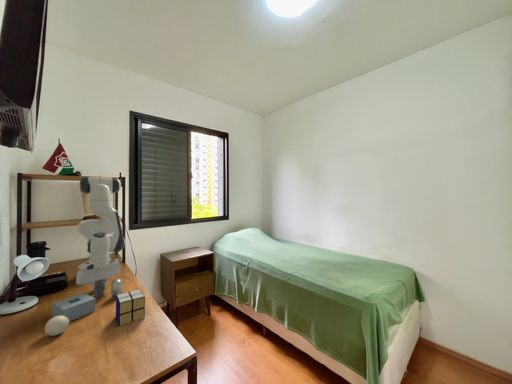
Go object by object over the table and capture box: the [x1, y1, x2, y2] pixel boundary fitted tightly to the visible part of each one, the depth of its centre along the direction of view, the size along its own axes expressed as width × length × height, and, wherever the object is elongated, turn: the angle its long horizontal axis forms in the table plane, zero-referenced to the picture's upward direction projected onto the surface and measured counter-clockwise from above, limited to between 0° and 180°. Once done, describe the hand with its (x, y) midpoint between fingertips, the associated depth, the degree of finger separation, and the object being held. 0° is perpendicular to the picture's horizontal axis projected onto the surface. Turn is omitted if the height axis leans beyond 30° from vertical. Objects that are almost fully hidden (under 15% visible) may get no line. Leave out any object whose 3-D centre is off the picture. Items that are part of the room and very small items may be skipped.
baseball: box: [44, 316, 70, 337], centre depth 86 cm, size 7×7×7 cm
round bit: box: [110, 278, 123, 300], centre depth 117 cm, size 5×5×9 cm
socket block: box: [51, 292, 96, 322], centre depth 100 cm, size 12×12×6 cm
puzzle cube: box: [115, 288, 146, 327], centre depth 97 cm, size 10×10×10 cm
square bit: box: [93, 279, 105, 298], centre depth 118 cm, size 3×3×9 cm
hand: (99, 287), depth 118 cm, fingers closed on square bit, 3 cm apart
